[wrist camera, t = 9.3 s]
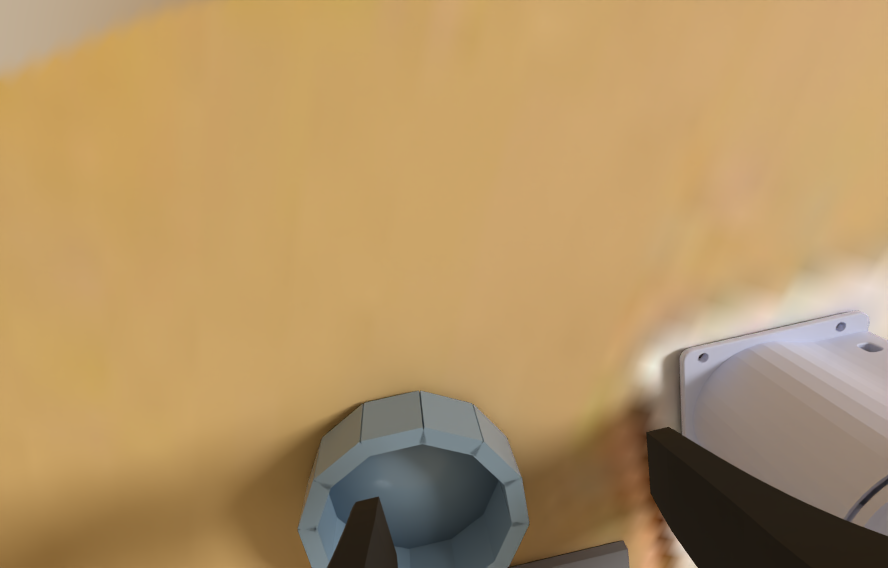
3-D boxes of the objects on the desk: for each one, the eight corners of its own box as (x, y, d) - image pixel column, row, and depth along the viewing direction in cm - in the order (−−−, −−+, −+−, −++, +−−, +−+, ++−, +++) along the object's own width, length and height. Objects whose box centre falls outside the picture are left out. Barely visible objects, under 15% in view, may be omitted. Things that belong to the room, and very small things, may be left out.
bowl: (494, 370, 24) (509, 407, 21) (522, 529, 27) (539, 581, 24) (286, 416, 23) (271, 461, 20) (341, 571, 27) (335, 630, 24)
